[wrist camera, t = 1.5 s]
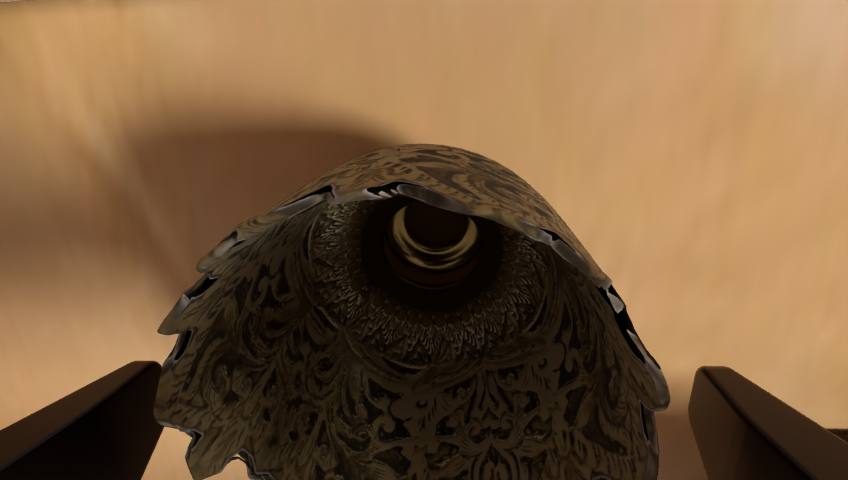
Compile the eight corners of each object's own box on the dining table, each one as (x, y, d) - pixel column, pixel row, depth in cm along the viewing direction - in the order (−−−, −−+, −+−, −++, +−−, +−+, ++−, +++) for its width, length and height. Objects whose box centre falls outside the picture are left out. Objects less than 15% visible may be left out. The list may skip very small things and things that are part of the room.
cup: (258, 175, 14) (39, 353, 7) (485, 28, 12) (500, 69, 5) (400, 359, 17) (344, 631, 9) (610, 264, 14) (744, 525, 7)
